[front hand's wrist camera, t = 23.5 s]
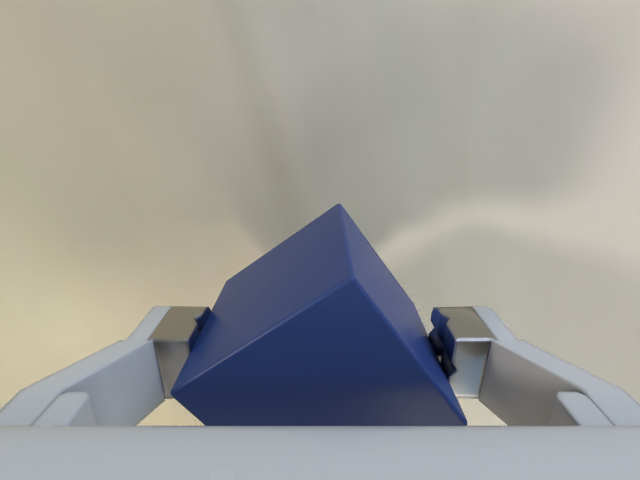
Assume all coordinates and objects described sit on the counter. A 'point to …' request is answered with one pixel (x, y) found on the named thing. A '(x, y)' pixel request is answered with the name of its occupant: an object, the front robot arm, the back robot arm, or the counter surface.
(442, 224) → the counter surface
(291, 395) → the brick
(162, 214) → the counter surface
